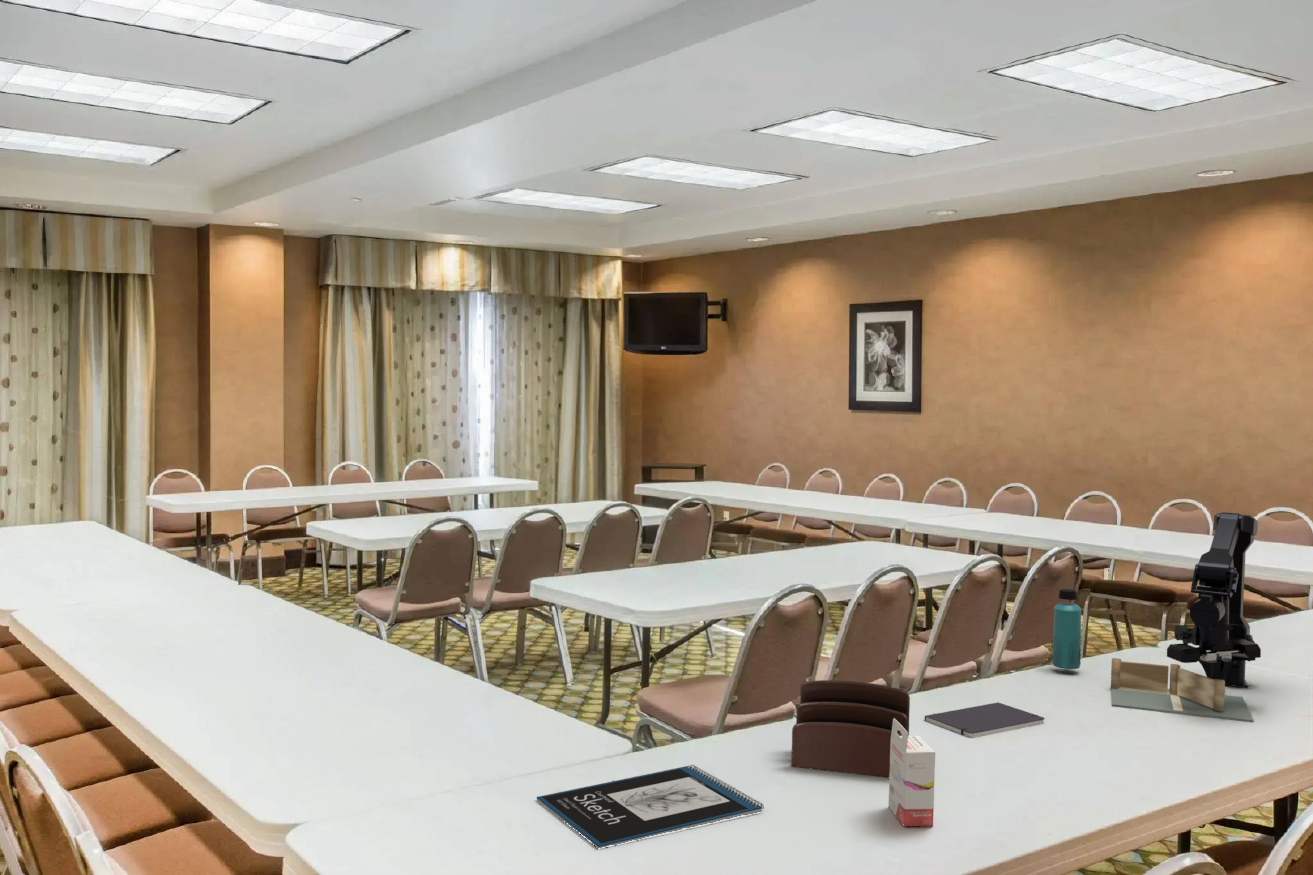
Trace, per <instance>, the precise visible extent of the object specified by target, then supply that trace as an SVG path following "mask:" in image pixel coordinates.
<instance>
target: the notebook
mask: <svg viewBox="0 0 1313 875" xmlns="http://www.w3.org/2000/svg"><path fill="white" fill-rule="evenodd" d="M925 720H926V721H925ZM1044 720H1045V717H1043V716H1040V715H1038V714H1034V713H1032V712H1028V711H1026V710H1024V709H1019V708H1016V707H1013V706H1010V705H1007V704H1004V703H1002V702H998V701H997V702H994V703H993V702H992V703H988V704H987V703H986V704H982V705H977V706H972V707H971V706H970V707H965V708H960V709H955V710H950V711H944V712H938V713H932V714H927V715H924V721H925V722H928V721H930V722H931V723H930V722H929V723H930V724H933V723H934V724H933V725H936V726H938V725H939V727H941V726H942V727H941V728H943V729H944V728H945V729H946V728H947V730H949V729H950V730H949V731H952V730H953V732H954V731H955V733H958V734H960V735H961V734H962V735H961V736H965V737H968V738H978V737H983V736H988V735H992V734H998V733H1003V732H1007V731H1012V730H1016V729H1017V730H1019V729H1023V728H1027V727H1033V726H1036V725H1037V726H1038V725H1042V724H1044Z"/></svg>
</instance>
